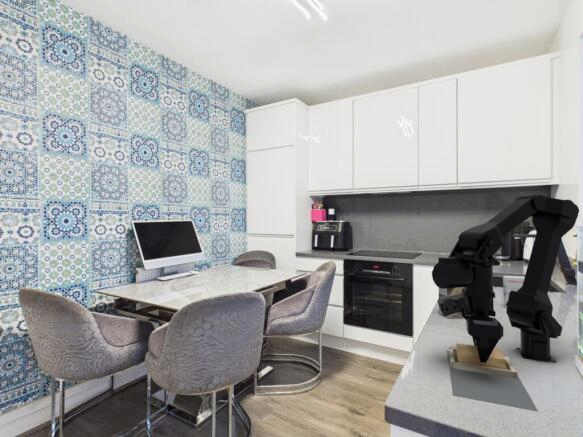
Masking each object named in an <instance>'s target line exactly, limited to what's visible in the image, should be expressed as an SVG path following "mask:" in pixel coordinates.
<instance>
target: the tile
mask: <svg viewBox="0 0 583 437" xmlns="http://www.w3.org/2000/svg"><path fill="white" fill-rule="evenodd" d="M455 344H456V347H455V348H456V356H457V361H458V362H459V363H466V364H472V365H479V366H486V367H493V368H499V369H506V359H505V357H504V355H505V354H503V352H502V349H501V348H496V347H495V348H494V349H493V351H492V353H491V355H490V357H489V358H488V360H487V362H486V363H481V362H480V359H479V355H478V350H477V346H474V344H464V343H455Z"/></svg>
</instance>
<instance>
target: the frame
mask: <svg viewBox="0 0 583 437" xmlns="http://www.w3.org/2000/svg"><path fill="white" fill-rule="evenodd" d="M448 351H449V357H450V363H451V368H453V369H459V370H466V371H472V372H479V373H485V374H491V375H498V376H504V377H511V378H517V375H518V371H517V370H516V368H515V366H514V364H513V363H512V361H511V359H510V358H509V355H507V354H503V355H504V357H505V359H506V366H507V368H508V370H506V369H499V368H493V367H486V366H479V365H472V364H466V363H459V362H455V360H454V354H456V347H448Z"/></svg>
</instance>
